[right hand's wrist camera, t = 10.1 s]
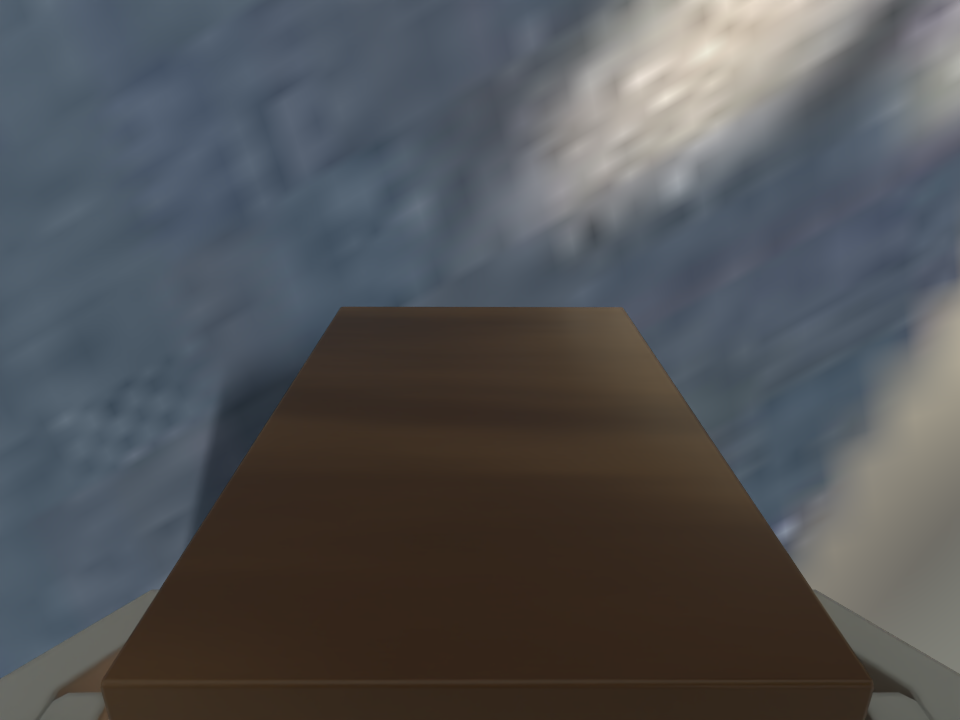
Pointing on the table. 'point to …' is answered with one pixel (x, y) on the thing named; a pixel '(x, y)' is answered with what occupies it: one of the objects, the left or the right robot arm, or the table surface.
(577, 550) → the bar
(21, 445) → the table surface
